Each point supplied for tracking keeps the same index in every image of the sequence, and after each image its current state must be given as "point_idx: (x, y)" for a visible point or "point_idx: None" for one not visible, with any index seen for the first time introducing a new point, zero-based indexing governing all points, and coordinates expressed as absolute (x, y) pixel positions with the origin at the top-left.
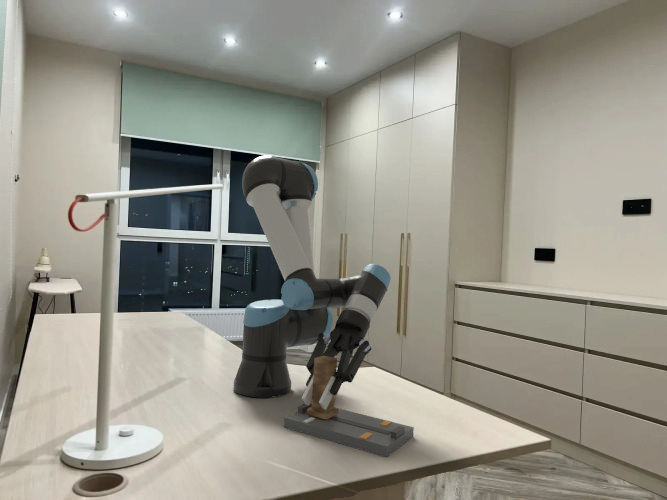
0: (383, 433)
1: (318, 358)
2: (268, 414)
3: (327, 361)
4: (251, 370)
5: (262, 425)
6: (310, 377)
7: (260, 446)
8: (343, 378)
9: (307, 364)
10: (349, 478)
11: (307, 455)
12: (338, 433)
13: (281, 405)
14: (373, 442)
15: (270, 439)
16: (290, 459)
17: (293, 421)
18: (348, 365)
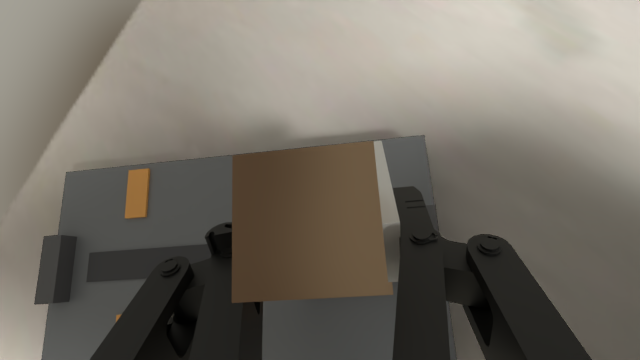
0: (104, 251)
1: (344, 162)
2: (560, 204)
3: (242, 155)
4: None
5: (484, 116)
6: (419, 215)
7: (369, 18)
8: (203, 264)
9: (509, 251)
10: (122, 44)
11: (249, 61)
12: (215, 158)
13: (621, 327)
14: (105, 169)
15: (384, 63)
16: (266, 21)
17: (385, 141)
18: (154, 325)
